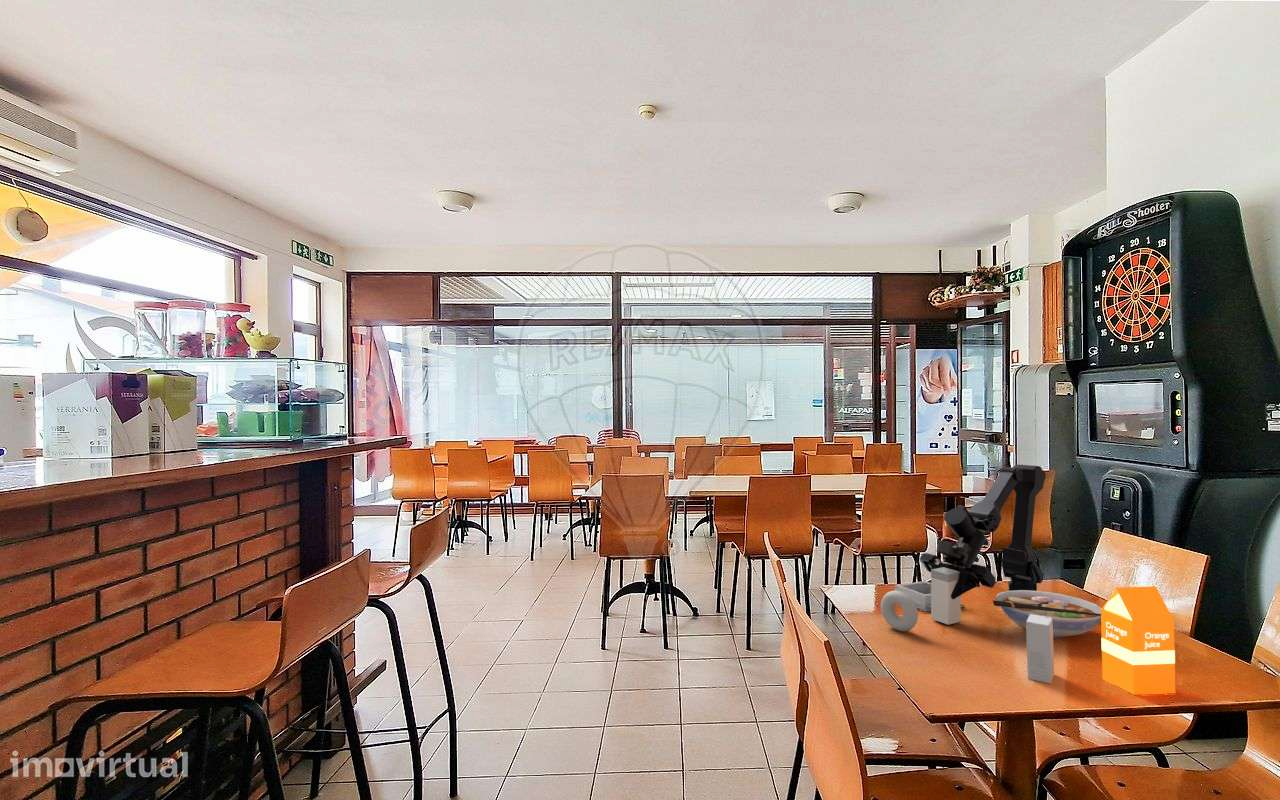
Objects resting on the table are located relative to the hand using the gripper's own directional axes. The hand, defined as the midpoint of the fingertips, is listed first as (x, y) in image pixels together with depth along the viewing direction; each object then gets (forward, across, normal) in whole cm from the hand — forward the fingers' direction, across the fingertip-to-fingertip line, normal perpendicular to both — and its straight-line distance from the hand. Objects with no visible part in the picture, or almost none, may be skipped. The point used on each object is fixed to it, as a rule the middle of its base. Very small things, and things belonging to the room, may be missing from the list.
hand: (942, 595), depth 161 cm
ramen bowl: (-6, +17, +17) cm, 25 cm away
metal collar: (-3, -13, +13) cm, 19 cm away
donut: (+15, -2, -5) cm, 16 cm away
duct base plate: (-3, -13, +13) cm, 19 cm away
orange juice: (+5, +42, +6) cm, 43 cm away
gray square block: (+4, 0, +6) cm, 7 cm away
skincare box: (+13, +30, -3) cm, 33 cm away
